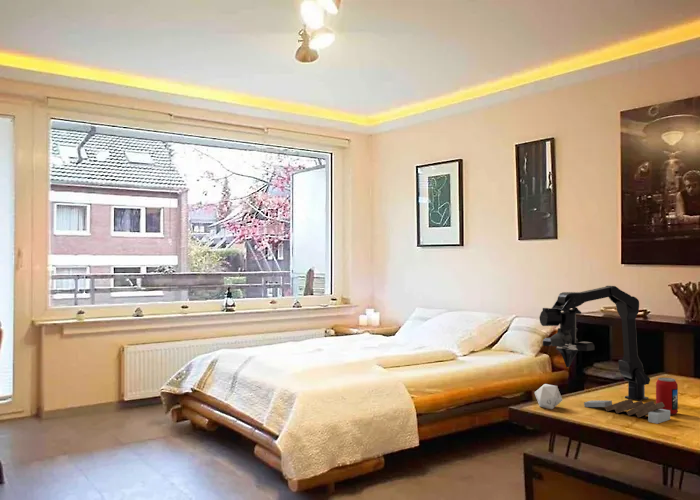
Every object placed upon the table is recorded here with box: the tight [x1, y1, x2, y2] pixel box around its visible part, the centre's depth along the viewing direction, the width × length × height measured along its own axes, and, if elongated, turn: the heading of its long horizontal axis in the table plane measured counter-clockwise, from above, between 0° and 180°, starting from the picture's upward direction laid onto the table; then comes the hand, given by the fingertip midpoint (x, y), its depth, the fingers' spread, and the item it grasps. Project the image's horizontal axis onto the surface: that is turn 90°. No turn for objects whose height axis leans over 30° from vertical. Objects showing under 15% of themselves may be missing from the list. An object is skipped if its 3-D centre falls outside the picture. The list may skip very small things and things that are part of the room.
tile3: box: [626, 400, 656, 417], centre depth 208 cm, size 2×5×8 cm
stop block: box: [647, 409, 671, 425], centre depth 203 cm, size 9×3×3 cm, turn 128°
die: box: [533, 383, 563, 410], centre depth 221 cm, size 8×9×10 cm
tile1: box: [604, 398, 634, 412], centre depth 214 cm, size 2×5×8 cm
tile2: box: [614, 400, 644, 414], centre depth 212 cm, size 2×5×8 cm
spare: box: [583, 400, 613, 408], centre depth 221 cm, size 2×5×8 cm
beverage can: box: [655, 377, 679, 416], centre depth 213 cm, size 7×7×12 cm
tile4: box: [635, 402, 665, 419], centre depth 206 cm, size 2×5×8 cm
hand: (567, 367), depth 231 cm, fingers closed
